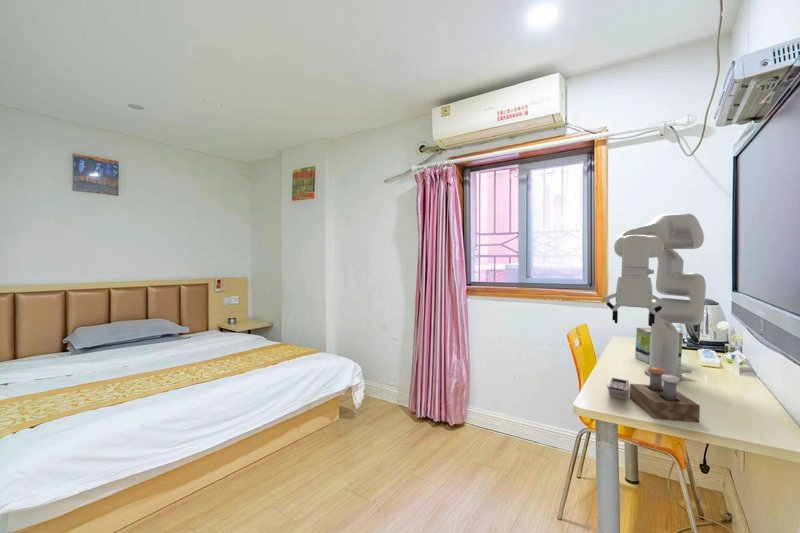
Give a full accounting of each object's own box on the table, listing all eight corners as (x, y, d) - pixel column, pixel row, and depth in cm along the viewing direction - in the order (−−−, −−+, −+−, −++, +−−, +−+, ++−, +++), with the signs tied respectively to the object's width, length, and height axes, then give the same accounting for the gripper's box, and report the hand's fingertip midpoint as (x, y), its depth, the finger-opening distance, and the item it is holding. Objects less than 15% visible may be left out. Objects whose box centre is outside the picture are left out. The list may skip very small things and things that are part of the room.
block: (668, 400, 123) (669, 386, 123) (699, 422, 107) (699, 405, 107) (629, 398, 125) (630, 383, 125) (653, 418, 109) (654, 402, 109)
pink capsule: (659, 388, 122) (660, 367, 122) (666, 393, 118) (667, 371, 117) (645, 387, 123) (645, 366, 122) (651, 392, 118) (652, 370, 118)
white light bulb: (673, 397, 114) (674, 374, 114) (681, 403, 110) (682, 379, 110) (657, 396, 115) (658, 373, 115) (665, 402, 110) (666, 378, 110)
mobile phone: (606, 385, 121) (611, 366, 142) (605, 403, 121) (611, 381, 142) (628, 390, 117) (630, 369, 138) (627, 408, 118) (629, 385, 138)
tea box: (647, 363, 166) (649, 331, 166) (634, 357, 176) (635, 327, 176) (682, 364, 166) (683, 332, 165) (666, 358, 176) (667, 327, 175)
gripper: (664, 273, 121) (662, 325, 121) (604, 271, 129) (602, 320, 129) (668, 274, 114) (666, 329, 115) (605, 272, 122) (603, 323, 123)
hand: (632, 324), depth 122 cm, fingers open, 9 cm apart
